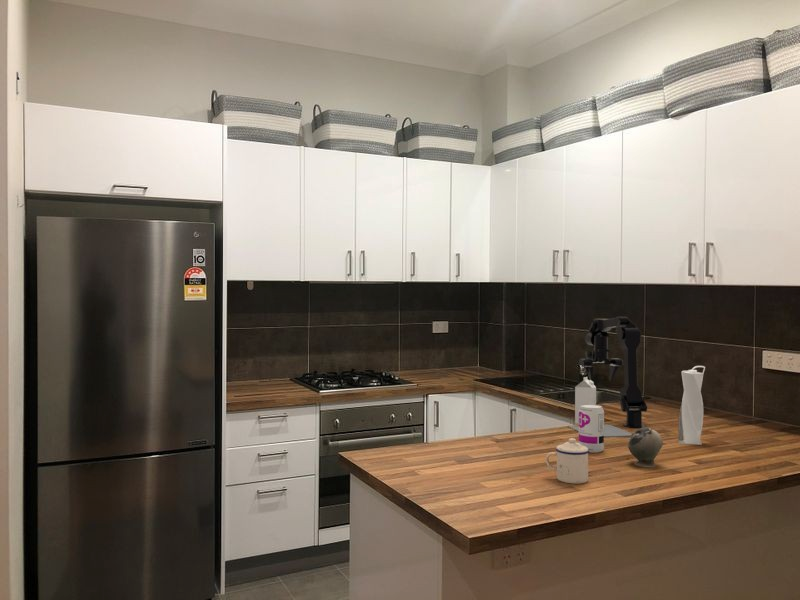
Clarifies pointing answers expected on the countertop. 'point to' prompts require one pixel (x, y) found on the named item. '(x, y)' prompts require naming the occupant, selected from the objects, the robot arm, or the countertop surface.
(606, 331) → the robot arm
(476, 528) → the countertop surface
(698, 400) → the white tall faceted vessel
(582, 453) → the teacup with lid
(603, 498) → the countertop surface
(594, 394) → the milk carton
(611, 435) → the mat
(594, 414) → the supplement can
